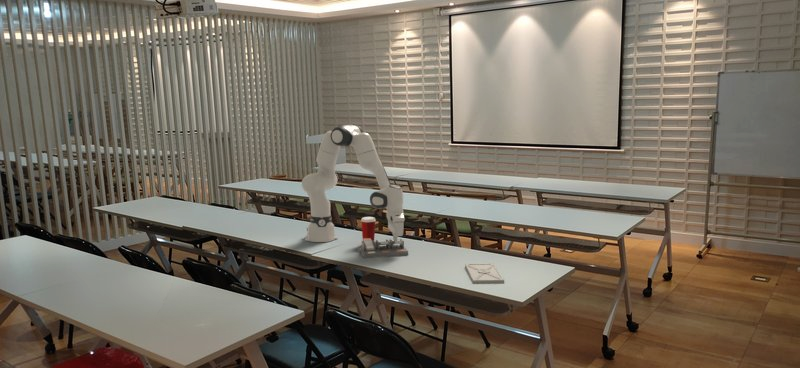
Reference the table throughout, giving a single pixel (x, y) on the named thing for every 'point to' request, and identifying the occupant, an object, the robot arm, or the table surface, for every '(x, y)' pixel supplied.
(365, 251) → the switch panel
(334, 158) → the robot arm
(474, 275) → the envelope
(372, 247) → the rocker
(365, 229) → the coffee cup
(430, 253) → the table surface
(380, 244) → the rocker
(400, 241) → the rocker
